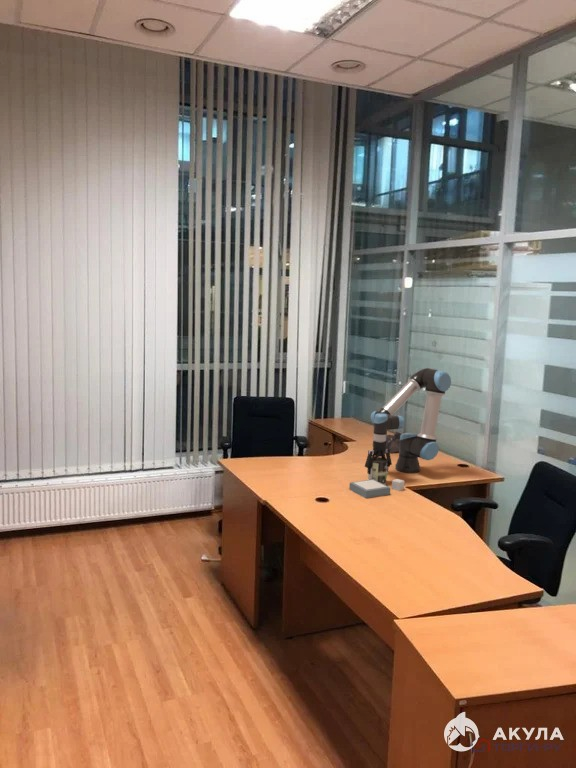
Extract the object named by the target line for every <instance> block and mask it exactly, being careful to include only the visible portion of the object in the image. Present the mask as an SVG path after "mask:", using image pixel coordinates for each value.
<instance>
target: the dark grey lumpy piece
mask: <svg viewBox="0 0 576 768" xmlns="http://www.w3.org/2000/svg"><path fill="white" fill-rule="evenodd" d="M401 434H402V433H401V432H398V431H395V433H393V434H387V439H386V448H387V449H390V454H392V453H399V444H400V436H401ZM386 448H385V449H386Z"/></svg>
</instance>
